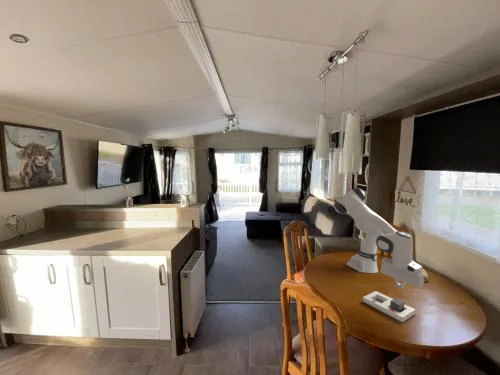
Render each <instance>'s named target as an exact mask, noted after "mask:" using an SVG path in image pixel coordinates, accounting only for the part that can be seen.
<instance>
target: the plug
mask: <svg viewBox="0 0 500 375" xmlns="http://www.w3.org/2000/svg"><path fill="white" fill-rule="evenodd" d="M392 299H393V300H391V302H390V308H391V309H393V310H395V311H397V312H399V313H401V312H402V311H404V304H405V303H406V302H405V301H403V300H402V299H399V298H397V297H395V298H392ZM405 305H406V304H405Z"/></svg>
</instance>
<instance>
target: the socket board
mask: <svg viewBox="0 0 500 375" xmlns="http://www.w3.org/2000/svg"><path fill="white" fill-rule="evenodd" d="M393 299H394V298H391V297H390V296H387V295H385V294H383V293H382V292H379V291H377V290H375V291H372V292H371V293H368V294H367V295H365V296H362V303H364V304H366V305H368V306H370V307H372V308H374V309H375V310H378V311H379V312H380V313H382V314H385V315H386V316H389V317H390V318H392V319H394V320H396V321H398V322H400V323H402V324H403V323H405V322H406V321H408V320H409V319H411V318H412V317H414V316H415V315H416V309H415V308H413V307H411V306H409V305H406V304H404V311H402V312H401V313H399V312H397V311H395V310H393V309H391V308H390V302H391V300H393Z"/></svg>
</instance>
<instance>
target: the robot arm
mask: <svg viewBox="0 0 500 375" xmlns="http://www.w3.org/2000/svg"><path fill="white" fill-rule="evenodd" d="M342 196H343V197H342ZM342 196H341V197H342V199H340V198H339V199H338V200H336V201H335V202H334V203H333V207H334V210H335V212H337V213H338V214H340V215H343V216H344V215H346V214H349V216H351V218H352V219H353V221H354V222H355V224H354V225H355V227H356V228H357V230H359V231H361V232H363V233H364V234H365V237H364V238H362V239H361V241H360V249H358V250H357V253H356V254H354V255H352V256H351V257H350V260H349V261H347V263H346V266H349V267H350V268H352V269H354V270H356V271H358V272H359V273H367V274H376V273H378V272H379V268H378V263H377V259H378V251H377V250H379V251H380V252H383V253H387V254H391V255H392V257H391V258H388V257H382V258H381V267H380V273H381V274H383V275H386V276H388V277H390V278H393V279H394V281H395V284H396V288H400V289H402V290H403V289H405V285H406V284H409V285H410V286H411V285H412V286H414V287H417V288H421V287H423V286H424V283H425V282H424V278H423V273H422V272H421V270H422V268H423V266H422V265H420V264H418V263H417V262H415V261H414V260H413V257H412V255H413V254H412V253H413V251H414V250H413V248H414V246H413V245H414V244H413V242H414V241H413V237H412V235H410V234H409V233H407V232H405V231H400V230H397V229H396V228H395V227H393V226H392V225H391V224H390V223H389V222H388V221H386V220H385V219H384V218H383V217H382V216H380V215H379V214H377V213H376V212H375V211H373V210H372V209H371V208H369V207H368V206H367V205H366V204H365V202H364V201H365V199H366V193H365V192H364V190H363V189H361V188H359V187H354V188H352V189H351V190H348V192H346V193H344V195H342ZM400 281H401V283H400Z"/></svg>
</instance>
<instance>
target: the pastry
mask: <svg viewBox="0 0 500 375" xmlns="http://www.w3.org/2000/svg"><path fill="white" fill-rule="evenodd" d="M421 272H422V273H423V278H424V283H427V282H428V281H429V275H428V273H427V270H425V268H423V267H422V270H421Z"/></svg>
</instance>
